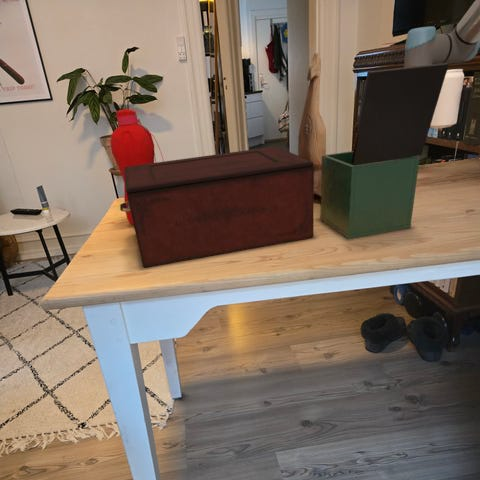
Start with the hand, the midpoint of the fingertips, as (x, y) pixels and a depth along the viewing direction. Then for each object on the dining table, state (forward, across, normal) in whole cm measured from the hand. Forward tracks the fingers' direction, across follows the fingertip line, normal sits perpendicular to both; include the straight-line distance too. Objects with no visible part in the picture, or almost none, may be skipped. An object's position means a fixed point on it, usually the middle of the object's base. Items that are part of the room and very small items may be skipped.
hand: (448, 97), depth 95 cm
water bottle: (+16, +72, -20) cm, 76 cm away
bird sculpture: (+3, +32, -20) cm, 38 cm away
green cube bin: (+26, +22, -20) cm, 39 cm away
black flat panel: (+34, +19, +1) cm, 38 cm away
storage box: (+28, +52, -21) cm, 63 cm away
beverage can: (-5, 0, -7) cm, 8 cm away
